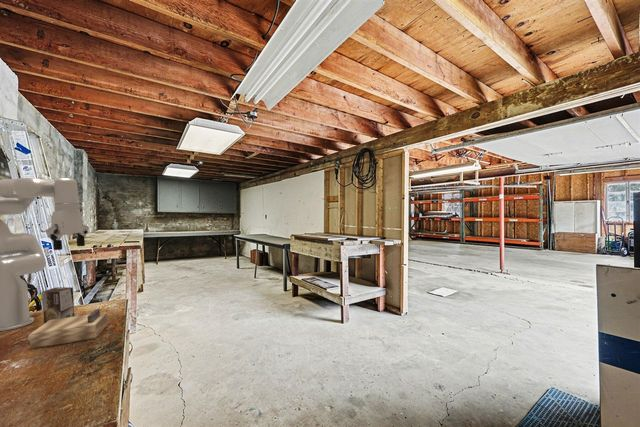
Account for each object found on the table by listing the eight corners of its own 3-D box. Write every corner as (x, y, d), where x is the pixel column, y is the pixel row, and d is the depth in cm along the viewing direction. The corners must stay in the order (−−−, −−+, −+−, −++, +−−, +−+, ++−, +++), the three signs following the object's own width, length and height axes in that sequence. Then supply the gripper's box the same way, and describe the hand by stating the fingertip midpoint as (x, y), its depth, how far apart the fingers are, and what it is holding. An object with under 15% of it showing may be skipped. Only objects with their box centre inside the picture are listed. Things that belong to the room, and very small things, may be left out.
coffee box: (75, 321, 128) (73, 287, 127) (61, 327, 122) (59, 291, 121) (58, 320, 129) (56, 286, 128) (43, 326, 122) (41, 291, 122)
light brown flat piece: (28, 341, 102) (27, 327, 102) (51, 324, 117) (50, 312, 117) (94, 330, 110) (93, 318, 110) (108, 316, 124) (107, 305, 124)
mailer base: (30, 348, 103) (29, 335, 103) (50, 332, 116) (50, 321, 116) (95, 338, 111) (94, 326, 110) (107, 324, 124) (107, 313, 123)
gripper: (78, 207, 125) (81, 245, 125) (36, 208, 107) (39, 251, 108) (93, 207, 124) (96, 244, 124) (53, 207, 107) (56, 251, 107)
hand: (70, 247), depth 116 cm, fingers open, 9 cm apart
